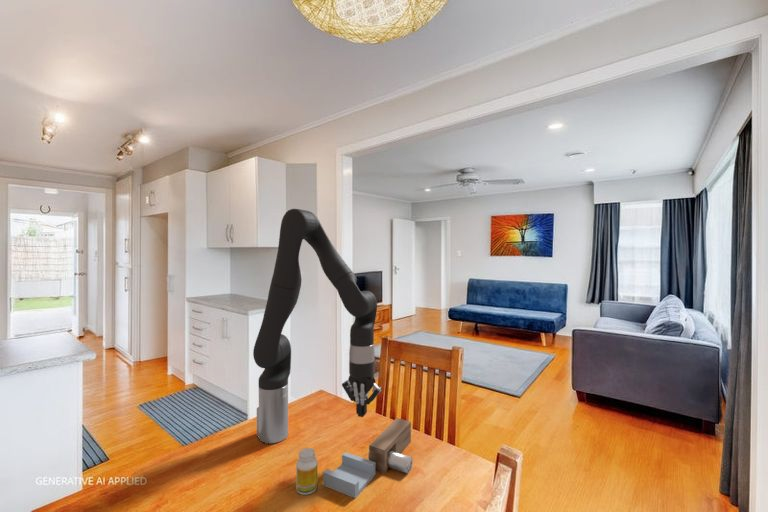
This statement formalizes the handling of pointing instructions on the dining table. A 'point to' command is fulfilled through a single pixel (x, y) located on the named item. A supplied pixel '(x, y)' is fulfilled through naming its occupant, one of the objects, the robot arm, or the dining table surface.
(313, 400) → the dining table surface
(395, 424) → the beam
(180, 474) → the dining table surface
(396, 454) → the axle
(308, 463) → the supplement bottle
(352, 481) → the cradle
